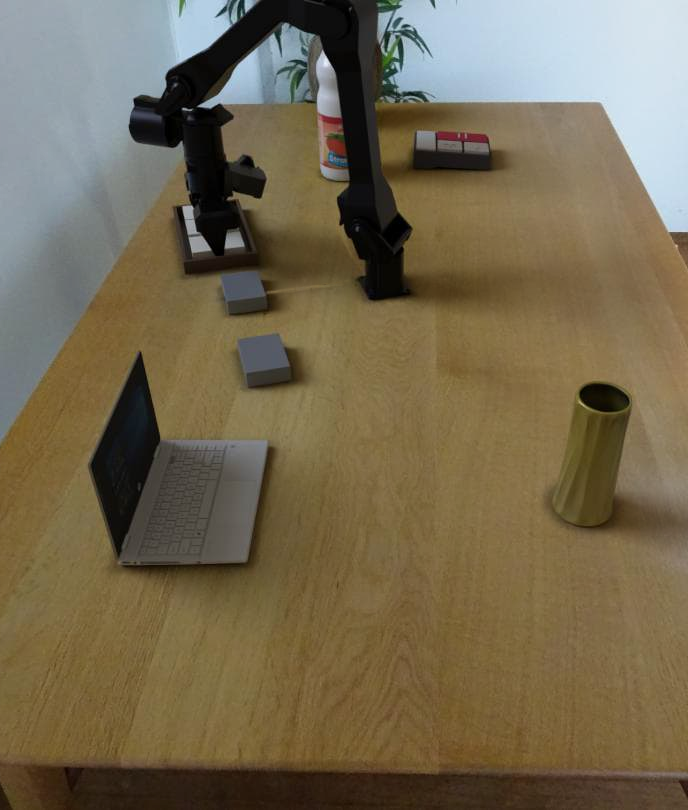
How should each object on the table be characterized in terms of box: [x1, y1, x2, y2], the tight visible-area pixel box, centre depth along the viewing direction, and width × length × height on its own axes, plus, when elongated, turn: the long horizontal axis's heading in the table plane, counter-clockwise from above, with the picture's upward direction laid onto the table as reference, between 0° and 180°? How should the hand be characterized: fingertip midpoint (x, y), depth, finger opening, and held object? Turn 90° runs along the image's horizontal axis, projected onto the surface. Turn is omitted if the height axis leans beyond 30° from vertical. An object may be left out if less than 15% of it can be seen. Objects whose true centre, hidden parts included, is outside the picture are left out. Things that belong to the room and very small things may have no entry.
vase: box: [552, 380, 633, 527], centre depth 79 cm, size 6×6×14 cm
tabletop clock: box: [306, 35, 384, 104], centre depth 172 cm, size 14×9×25 cm, turn 130°
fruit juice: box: [316, 50, 349, 182], centre depth 147 cm, size 9×9×28 cm
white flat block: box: [189, 231, 246, 259], centre depth 126 cm, size 8×6×2 cm
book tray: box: [172, 198, 260, 275], centre depth 131 cm, size 21×11×2 cm, turn 17°
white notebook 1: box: [182, 205, 194, 229], centre depth 136 cm, size 8×6×2 cm
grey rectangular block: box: [219, 269, 268, 316], centre depth 117 cm, size 8×6×2 cm
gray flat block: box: [236, 332, 292, 388], centre depth 103 cm, size 8×6×2 cm
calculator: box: [412, 130, 492, 171], centre depth 160 cm, size 11×4×15 cm
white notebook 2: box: [186, 220, 239, 243], centre depth 131 cm, size 8×6×2 cm
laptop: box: [87, 349, 270, 566], centre depth 80 cm, size 18×12×13 cm
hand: (217, 249), depth 127 cm, fingers closed on white flat block, 5 cm apart
